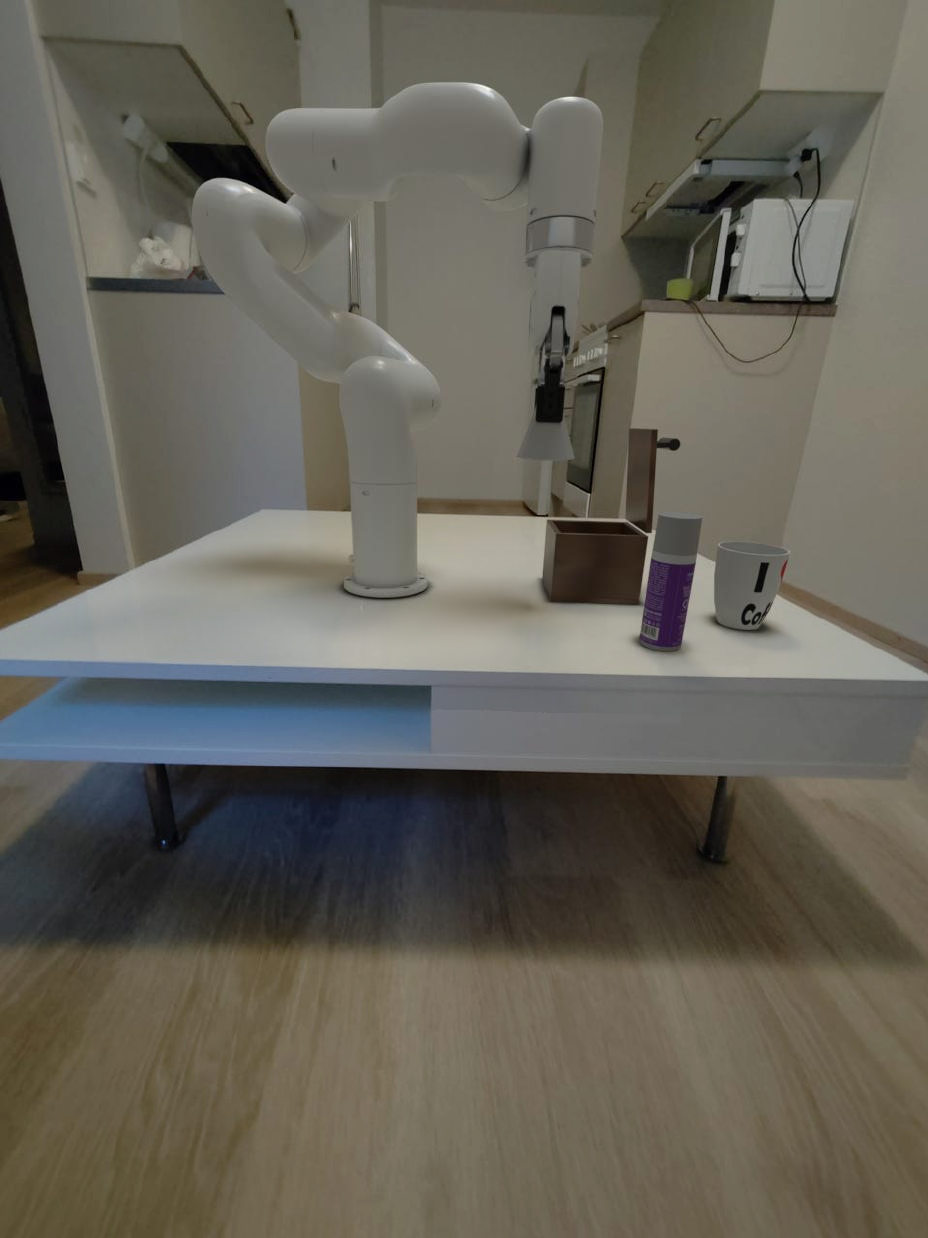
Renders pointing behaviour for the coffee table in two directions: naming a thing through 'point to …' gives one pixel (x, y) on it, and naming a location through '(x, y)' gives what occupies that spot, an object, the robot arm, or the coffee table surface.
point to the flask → (546, 441)
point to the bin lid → (643, 474)
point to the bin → (593, 561)
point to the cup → (747, 582)
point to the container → (670, 580)
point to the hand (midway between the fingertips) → (547, 420)
